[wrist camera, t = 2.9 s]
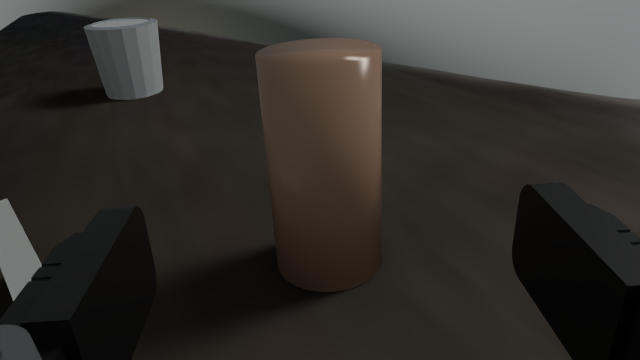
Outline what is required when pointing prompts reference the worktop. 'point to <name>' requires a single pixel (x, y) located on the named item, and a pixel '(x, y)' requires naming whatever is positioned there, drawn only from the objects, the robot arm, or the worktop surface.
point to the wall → (15, 251)
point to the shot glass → (127, 56)
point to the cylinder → (324, 158)
